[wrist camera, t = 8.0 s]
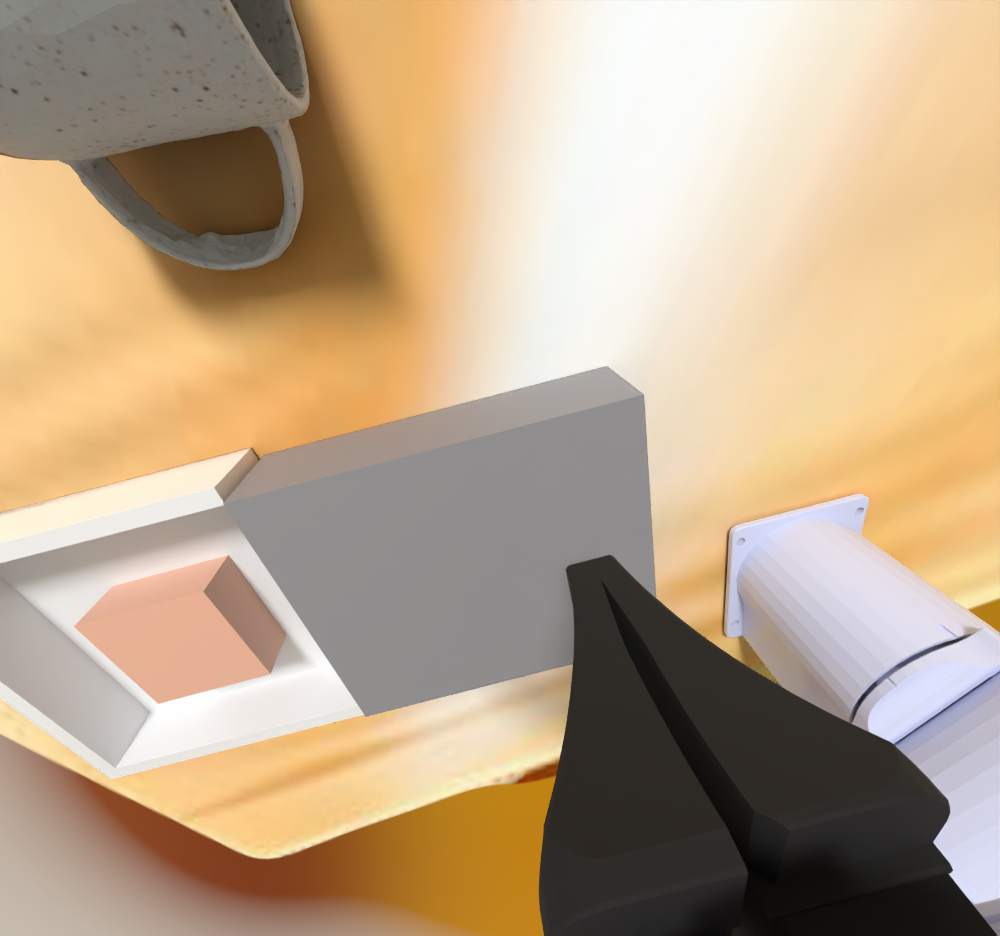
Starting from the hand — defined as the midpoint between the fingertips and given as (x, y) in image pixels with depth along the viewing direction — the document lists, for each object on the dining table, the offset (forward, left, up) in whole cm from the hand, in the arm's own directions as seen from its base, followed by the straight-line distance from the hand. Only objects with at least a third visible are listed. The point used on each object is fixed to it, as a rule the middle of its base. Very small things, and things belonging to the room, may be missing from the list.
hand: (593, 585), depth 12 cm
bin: (-4, +20, -9) cm, 22 cm away
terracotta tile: (-4, +19, -6) cm, 20 cm away
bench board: (-4, +4, -9) cm, 11 cm away
